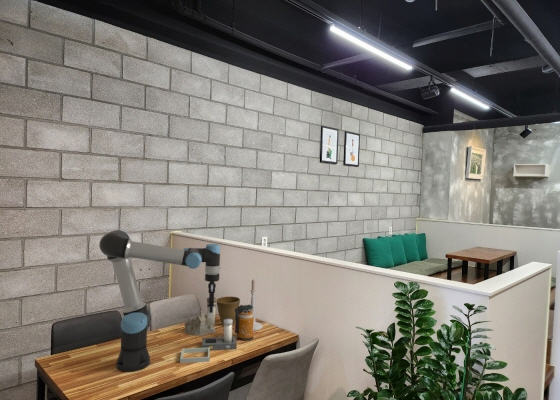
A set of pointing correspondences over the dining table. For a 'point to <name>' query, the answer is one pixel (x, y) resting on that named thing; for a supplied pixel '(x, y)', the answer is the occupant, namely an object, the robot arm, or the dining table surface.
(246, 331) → the canister
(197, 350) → the parts tray
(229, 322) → the cylinder
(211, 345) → the block
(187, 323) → the grey jagged lump
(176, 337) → the dining table surface
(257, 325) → the candlestick
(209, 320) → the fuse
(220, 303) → the plant pot
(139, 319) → the robot arm
